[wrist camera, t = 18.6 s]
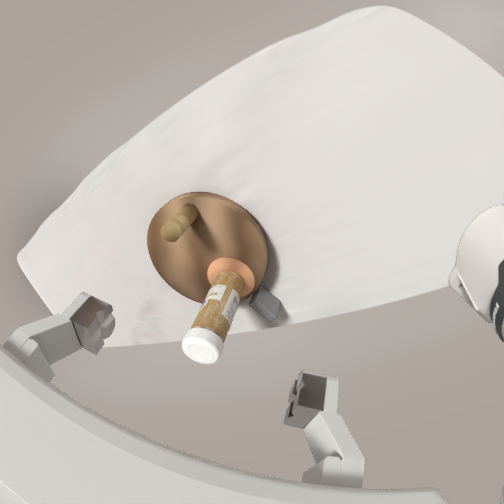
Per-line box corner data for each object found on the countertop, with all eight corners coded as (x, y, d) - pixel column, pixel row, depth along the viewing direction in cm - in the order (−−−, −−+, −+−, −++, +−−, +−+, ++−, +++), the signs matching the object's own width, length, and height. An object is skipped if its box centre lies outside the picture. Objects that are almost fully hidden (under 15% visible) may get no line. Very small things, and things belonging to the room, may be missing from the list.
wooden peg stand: (257, 185, 37) (241, 211, 30) (275, 299, 46) (265, 337, 39) (139, 198, 42) (108, 223, 35) (172, 295, 50) (152, 327, 44)
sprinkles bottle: (218, 265, 42) (182, 333, 30) (249, 276, 42) (223, 348, 30) (212, 288, 44) (178, 356, 33) (241, 299, 44) (215, 370, 33)
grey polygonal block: (280, 301, 47) (276, 316, 44) (273, 305, 48) (269, 321, 45) (261, 285, 46) (256, 300, 43) (254, 290, 47) (249, 305, 44)
